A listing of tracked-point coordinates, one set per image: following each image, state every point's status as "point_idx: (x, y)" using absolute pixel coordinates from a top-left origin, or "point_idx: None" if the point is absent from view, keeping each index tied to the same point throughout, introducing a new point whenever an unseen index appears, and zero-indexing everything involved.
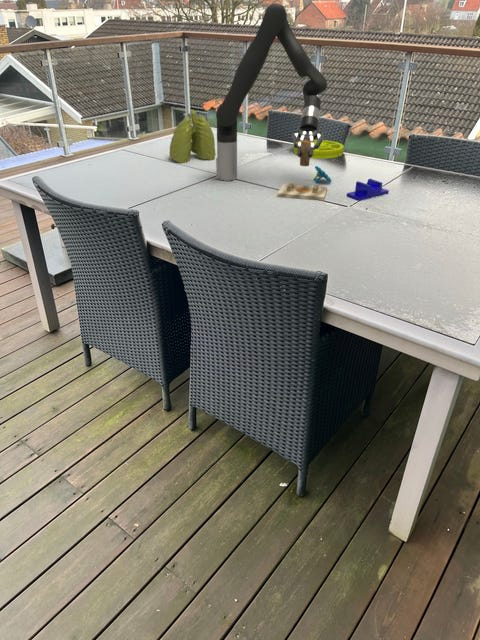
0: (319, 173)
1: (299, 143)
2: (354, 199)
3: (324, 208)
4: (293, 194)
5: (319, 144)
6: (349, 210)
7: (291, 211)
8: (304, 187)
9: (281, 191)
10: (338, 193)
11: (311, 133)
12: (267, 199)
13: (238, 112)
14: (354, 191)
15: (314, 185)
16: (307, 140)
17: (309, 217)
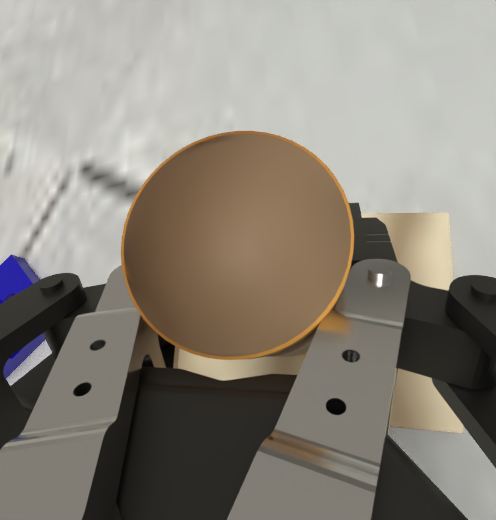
0: None
1: (387, 296)
2: (37, 277)
3: (176, 120)
4: None
5: (14, 392)
6: (76, 128)
7: (319, 41)
8: (294, 371)
9: (430, 255)
10: None
11: (7, 487)
12: (487, 162)
13: None
14: (15, 354)
15: None
16: (198, 250)
17: (234, 6)
